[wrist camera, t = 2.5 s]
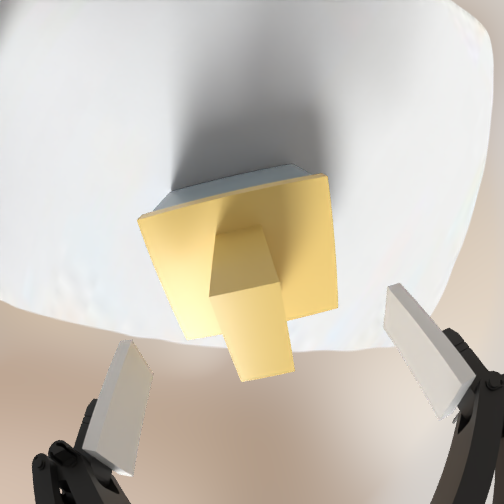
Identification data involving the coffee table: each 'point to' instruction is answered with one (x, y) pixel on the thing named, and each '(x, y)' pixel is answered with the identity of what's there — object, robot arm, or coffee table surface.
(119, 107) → the coffee table surface
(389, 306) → the robot arm
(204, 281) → the lid
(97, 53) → the coffee table surface
